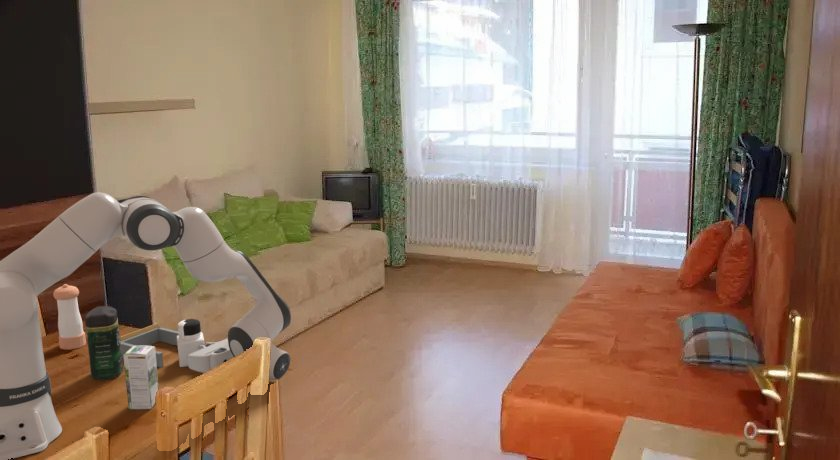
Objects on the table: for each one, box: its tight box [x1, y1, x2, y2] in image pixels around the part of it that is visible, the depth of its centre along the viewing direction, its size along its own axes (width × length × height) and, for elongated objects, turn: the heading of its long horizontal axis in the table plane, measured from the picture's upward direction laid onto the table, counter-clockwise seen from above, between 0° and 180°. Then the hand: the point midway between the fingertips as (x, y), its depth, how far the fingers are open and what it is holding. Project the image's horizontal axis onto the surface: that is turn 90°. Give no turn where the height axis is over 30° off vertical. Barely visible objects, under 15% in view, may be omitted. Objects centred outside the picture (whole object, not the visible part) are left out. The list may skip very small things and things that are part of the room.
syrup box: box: [123, 345, 160, 410], centre depth 182 cm, size 6×6×14 cm
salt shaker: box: [52, 283, 87, 351], centre depth 222 cm, size 7×7×19 cm
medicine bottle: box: [176, 318, 205, 368], centre depth 209 cm, size 7×7×12 cm
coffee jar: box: [84, 305, 124, 381], centre depth 200 cm, size 10×8×19 cm
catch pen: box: [120, 322, 179, 368], centre depth 216 cm, size 15×18×5 cm
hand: (202, 346), depth 206 cm, fingers closed
